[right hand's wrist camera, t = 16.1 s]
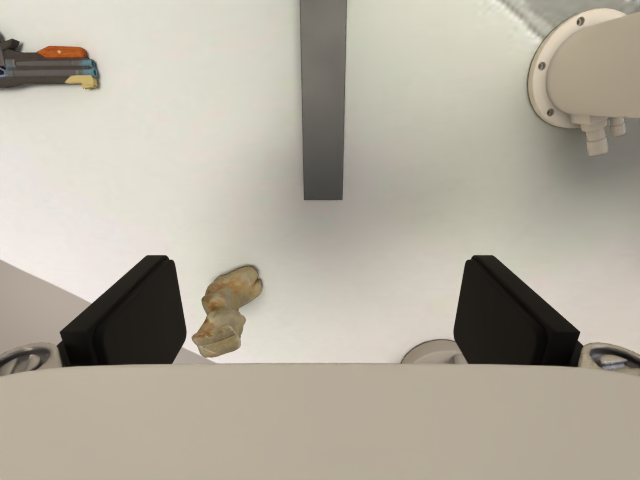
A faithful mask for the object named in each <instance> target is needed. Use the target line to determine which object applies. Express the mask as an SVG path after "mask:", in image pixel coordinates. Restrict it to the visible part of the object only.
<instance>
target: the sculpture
mask: <svg viewBox="0 0 640 480" xmlns="http://www.w3.org/2000/svg"><path fill="white" fill-rule="evenodd" d="M257 277H258V273H257V271H256V270H255V269H254V268H253V267H242V268H240V269H237V270H235V271H232V272H230V273H228V274H226V275H221V276H219V277H217V278H216V280H215V281H214V282H213V283H212V284H211V285H209V286H208V288H207V290H206V294H205V296H204V297H203V298H202V305H203V308H204V310H205V312H206V314H207V317H206V320H205V321H204V323H203V325H202V326H201V328H200V329H199V331H198V332H197V333H196V334H194V335H193V336H192V340H193V342H194V343H195V344H196V345H197V346H198V349H199V352H200V354H201V355H202V356H203V357H205V358H207V357H217V356H220V355H223V354H226V353H229V352H232V351H235V350H237V349H238V348H239V347H240V346H241V341H240V338H241V334H242V331H243V325H244V324H245V321H246V319H245V317H244V316H243V315H241V314H240V313H239V312H238V309H239V308H240V307H242V306H243V305H245V304H247V303H249V302H250V301H252V300H253V299H255V298H256V297H257V296H258V295H259V294H260V293H261V292H262V286H261V281H260V280H256V279H257Z"/></svg>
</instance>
